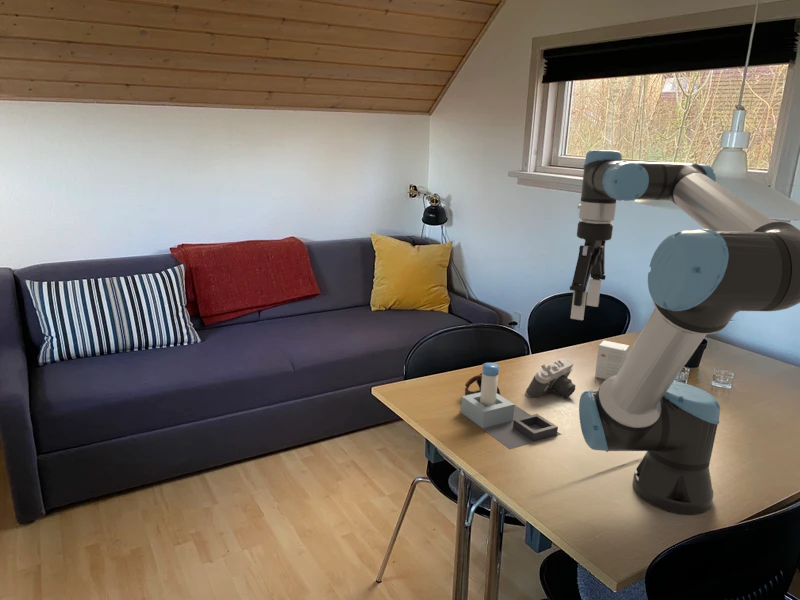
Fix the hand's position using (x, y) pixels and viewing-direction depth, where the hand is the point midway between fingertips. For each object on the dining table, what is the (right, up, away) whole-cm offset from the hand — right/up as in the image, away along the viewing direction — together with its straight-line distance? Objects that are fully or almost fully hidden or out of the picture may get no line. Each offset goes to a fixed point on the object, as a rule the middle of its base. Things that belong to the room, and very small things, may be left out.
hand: (584, 312), depth 138 cm
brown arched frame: (-20, -25, +25) cm, 41 cm away
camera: (+1, -24, +30) cm, 38 cm away
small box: (+21, -21, +43) cm, 53 cm away
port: (-21, -27, +14) cm, 37 cm away
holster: (-10, -29, +7) cm, 32 cm away
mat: (-16, -29, +11) cm, 35 cm away
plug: (-21, -27, +14) cm, 37 cm away
